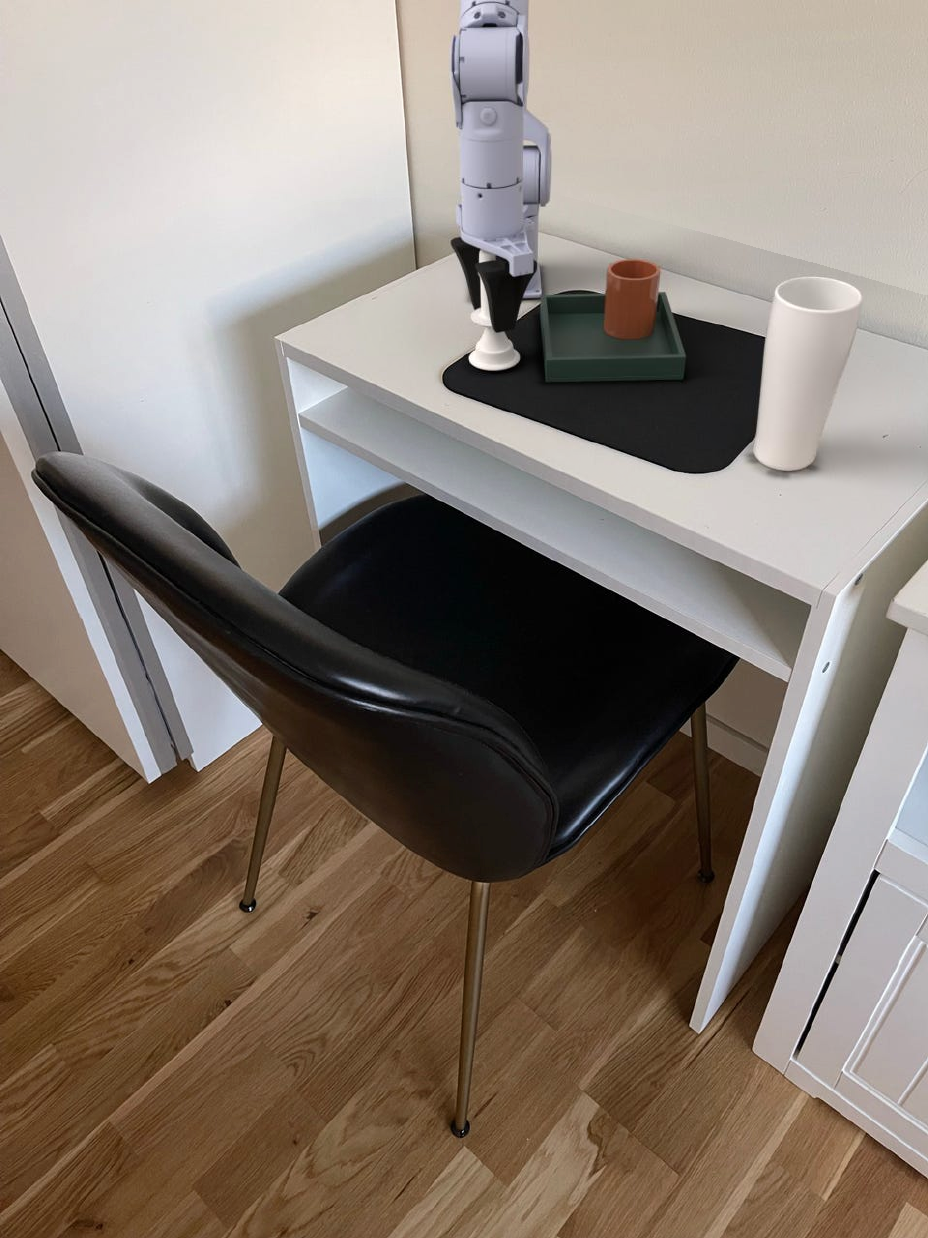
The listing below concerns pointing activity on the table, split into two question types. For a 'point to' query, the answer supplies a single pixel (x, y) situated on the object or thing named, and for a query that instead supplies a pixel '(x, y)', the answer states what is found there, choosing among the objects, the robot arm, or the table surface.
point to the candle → (491, 336)
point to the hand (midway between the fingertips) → (494, 319)
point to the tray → (605, 343)
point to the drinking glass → (803, 367)
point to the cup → (631, 298)
